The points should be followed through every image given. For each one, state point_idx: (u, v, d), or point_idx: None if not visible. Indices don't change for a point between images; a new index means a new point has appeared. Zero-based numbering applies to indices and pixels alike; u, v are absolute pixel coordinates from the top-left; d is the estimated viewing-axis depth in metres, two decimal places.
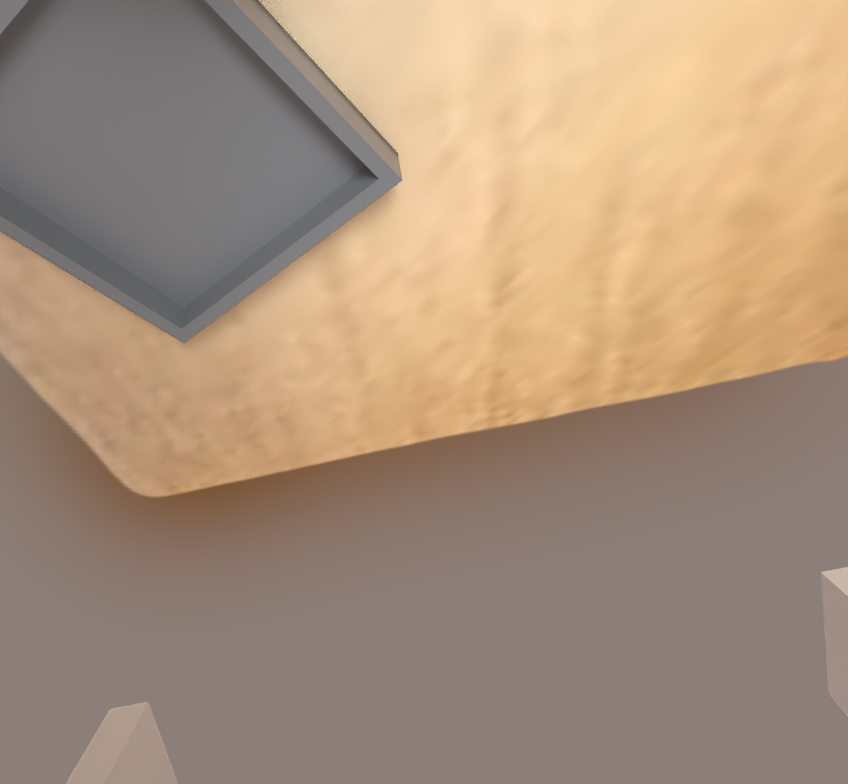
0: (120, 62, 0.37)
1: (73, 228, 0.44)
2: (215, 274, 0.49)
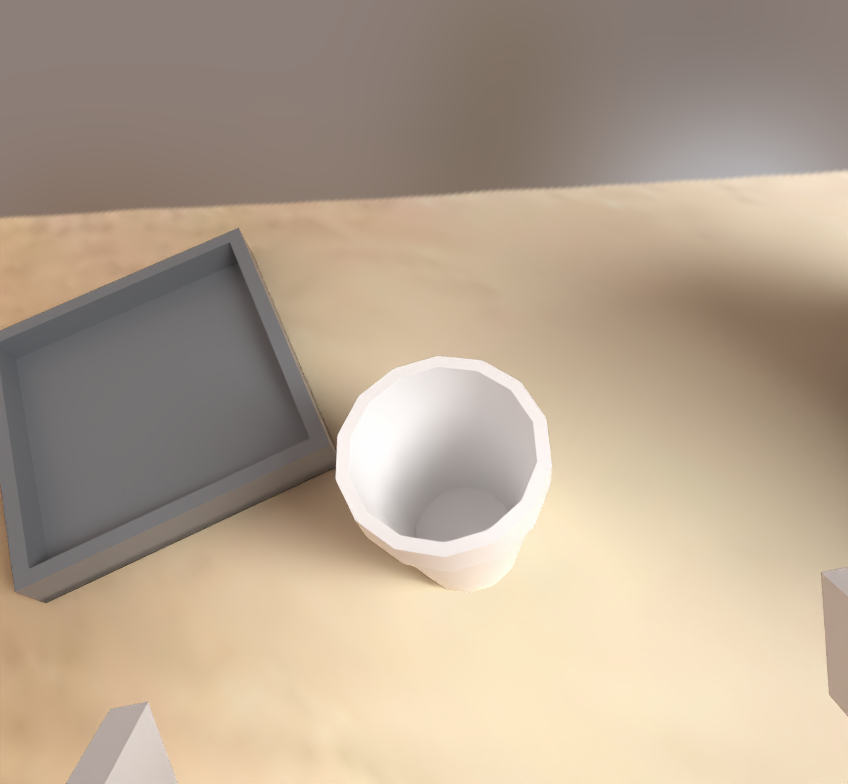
0: (223, 404, 0.48)
1: (129, 314, 0.53)
2: (29, 397, 0.50)
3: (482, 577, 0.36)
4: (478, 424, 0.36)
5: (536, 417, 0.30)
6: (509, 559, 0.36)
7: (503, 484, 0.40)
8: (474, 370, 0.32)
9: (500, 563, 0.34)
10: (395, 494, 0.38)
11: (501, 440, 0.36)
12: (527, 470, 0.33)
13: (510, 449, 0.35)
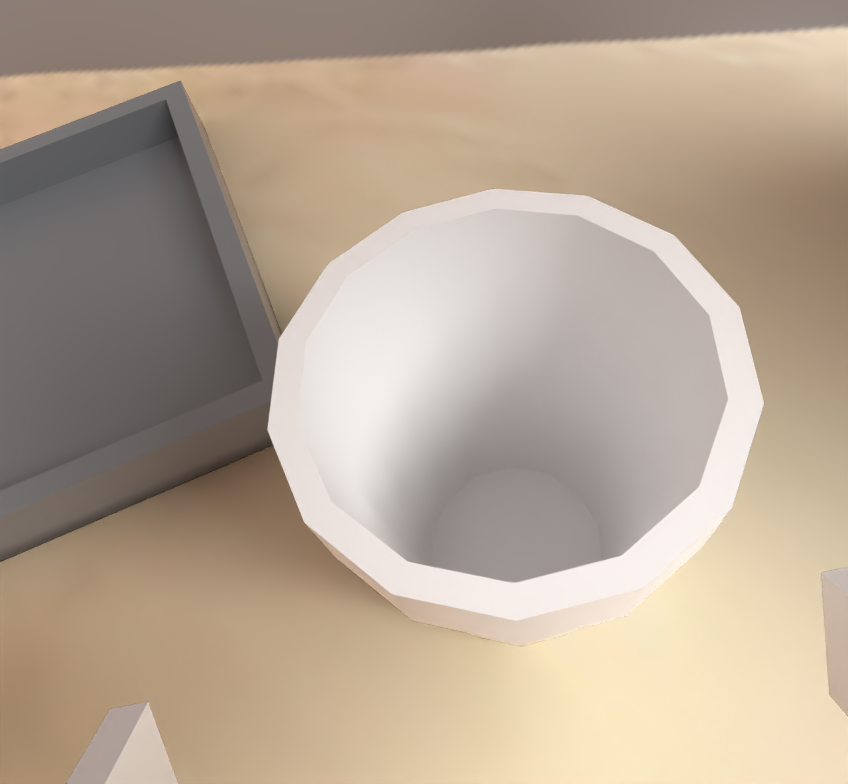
0: (139, 332, 0.31)
1: (19, 204, 0.36)
2: None
3: None
4: (558, 345, 0.19)
5: (716, 305, 0.14)
6: None
7: (586, 463, 0.23)
8: (570, 215, 0.15)
9: None
10: (399, 473, 0.21)
11: (601, 375, 0.19)
12: (666, 429, 0.16)
13: (619, 392, 0.19)
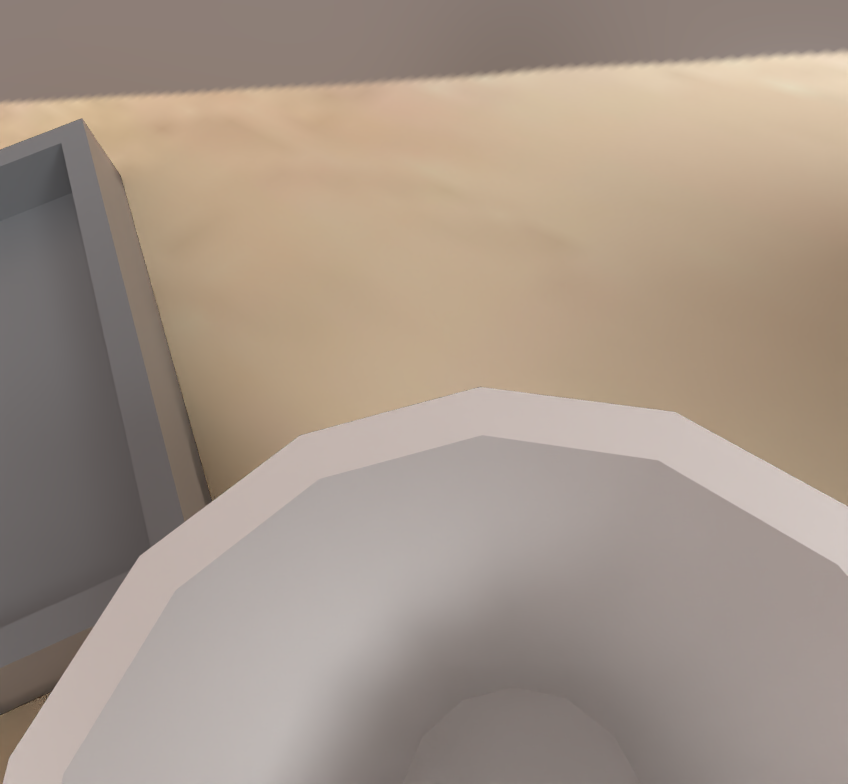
0: (8, 461, 0.23)
1: None
2: None
3: None
4: (597, 601, 0.11)
5: None
6: None
7: (631, 719, 0.15)
8: (643, 459, 0.07)
9: None
10: (334, 779, 0.13)
11: (674, 660, 0.11)
12: None
13: (707, 694, 0.11)
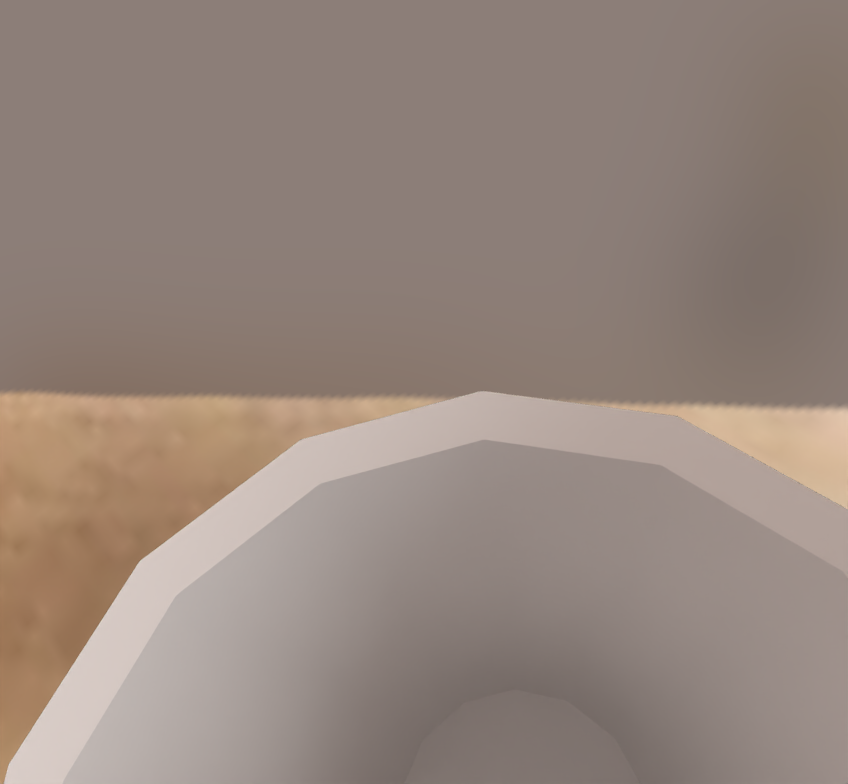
0: None
1: None
2: None
3: None
4: (598, 604, 0.11)
5: None
6: None
7: (632, 722, 0.15)
8: (644, 464, 0.07)
9: None
10: (335, 782, 0.13)
11: (676, 663, 0.11)
12: None
13: (707, 697, 0.11)
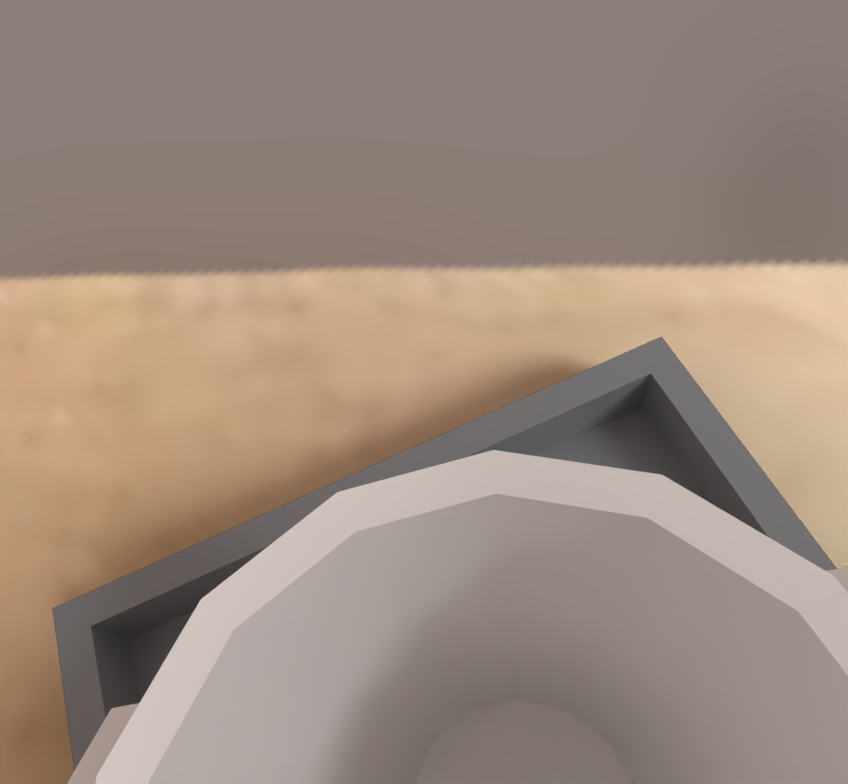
0: None
1: None
2: None
3: None
4: (594, 627, 0.12)
5: None
6: None
7: (625, 730, 0.16)
8: (634, 516, 0.09)
9: None
10: None
11: (664, 679, 0.12)
12: None
13: (692, 710, 0.12)
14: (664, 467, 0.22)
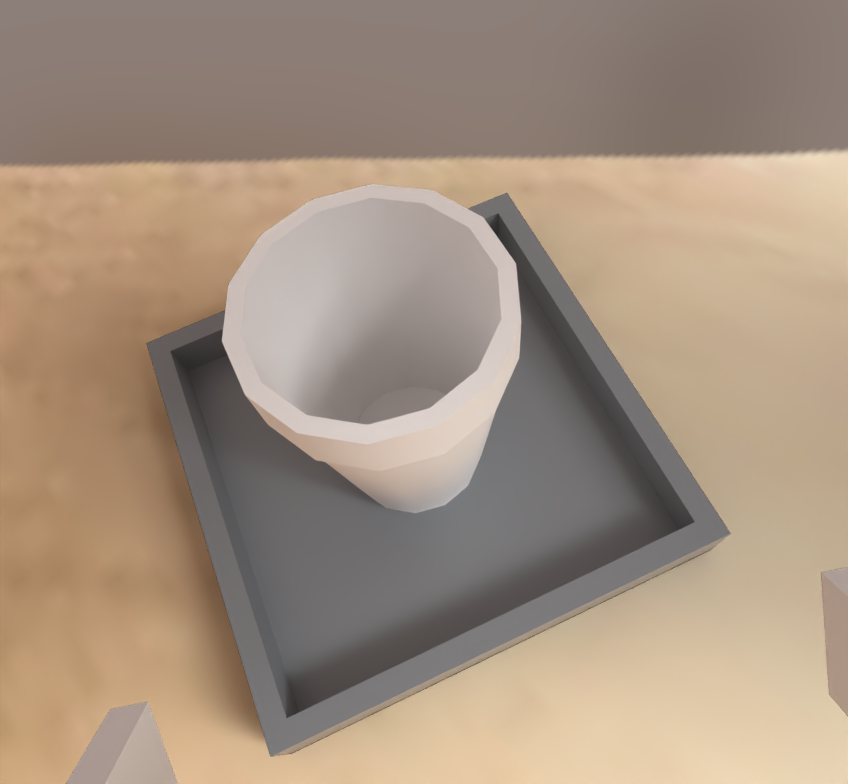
0: (517, 453, 0.33)
1: None
2: (218, 429, 0.35)
3: (428, 489, 0.28)
4: (428, 290, 0.27)
5: (502, 262, 0.22)
6: (463, 466, 0.28)
7: (461, 378, 0.31)
8: (420, 203, 0.23)
9: (451, 468, 0.26)
10: (321, 384, 0.29)
11: (457, 312, 0.27)
12: None
13: (468, 323, 0.27)
14: None
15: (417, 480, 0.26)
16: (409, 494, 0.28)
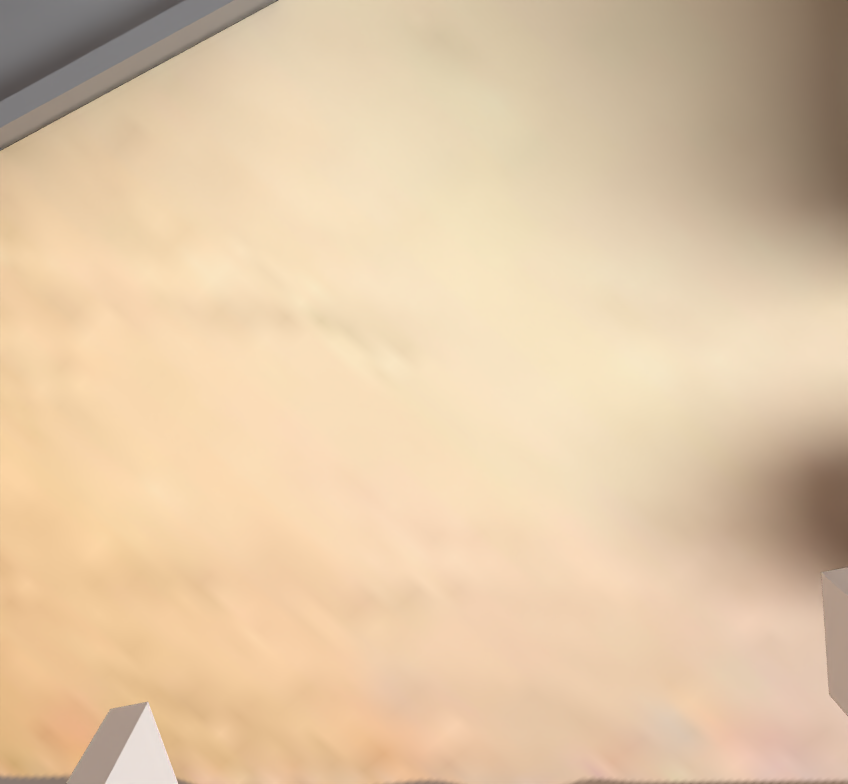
0: None
1: None
2: None
3: None
4: None
5: None
6: None
7: None
8: None
9: None
10: None
11: None
12: None
13: None
14: None
15: None
16: None
